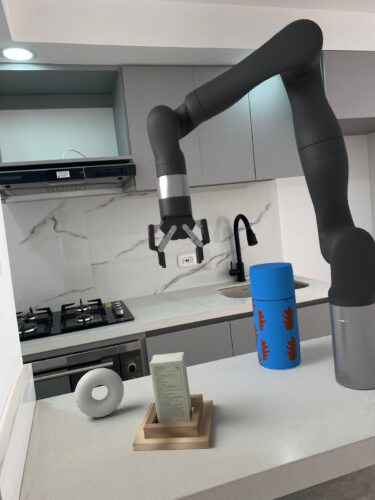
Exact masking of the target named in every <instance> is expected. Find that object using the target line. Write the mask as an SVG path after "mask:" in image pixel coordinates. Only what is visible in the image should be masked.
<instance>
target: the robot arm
mask: <svg viewBox="0 0 375 500" xmlns="http://www.w3.org/2000/svg"><path fill="white" fill-rule="evenodd" d="M323 47H324V33H323V30H322V28H321V26H320V25H319V24H318V23H317V22H315V21H314V20H311V19H308V18H300V19H296V20H293V21H291V22H289V23H288V24H286V26H284V27H283V28H282V29H280V30H279V31H277V33H276V32H275V34H274V35H272V37H270V38H269V39H268V40H267V41H265V42H264V43H263V44H262V45H260V46H259V47H258V48H257V49H255V50H254V51H252V52H251V53H250V54H249V55H247V56H246V57H245V58H243V59H241V61H239V62H237V63H236V64H234V65H233V66H231V67H230V68H229V69H227V70H225V71H224V72H222V73H221V74H218V75H217V76H215V77H214V78H212V79H210V80H209V81H207V82H206V83H203V84H201V85H200V86H197V87H196V88H195V89H193V90H191V91H190V92H188V93H187V94H186V96H185V97H184V102H183V103H182V104H180V105H179V106H177V107H176V108H175V109H173V108H171V107H170V106H169V105H166V104H158V105H155V106H154V107H152V108H151V109H150V110H149V112H148V115H147V118H146V131H147V136H148V140H149V143H150V148H151V151H152V154H153V156H154V157H153V158H154V165H155V173H156V190H157V191H156V193H157V194H156V195H157V199H158V211H159V217H160V223H159V224H153V223H150V224H148V225H147V237H148V249H149V251H154V252H156V253H157V259H158V265H159V266H160V267H161V268H162V269H166V268H167V262H166V253H165V251H164V250H165V249H166V247H167V245H168V244H169V242H170V241H178V240H188V239H189V240H190V241H191V242H192V243H193V244H194V246H195V257H196V263H197V264H199V265H200V264H202V263H203V262H204V261H205V256H204V246H206V245H208V244H210V243H211V238H210V232H209V227H208V221H207V219H206V218H200V219H196V220H195V219H194V216H193V207H192V199H191V190H190V189H191V188H190V182H189V179H188V173H187V164H186V158H185V154H184V152H183V150H182V149H181V147H180V140H181V139H182V140H183V138H185V137H187V136H188V135H189V134H191V133H192V132H193V131H194V130H196V129H197V128H198V127H199V126H200V125H201V124H204V123H205V122H207V121H209V120H211V119H213V118H214V117H216V116H218V115H220V114H221V113H223V112H225V111H227V110H228V109H230V108H232V107H233V106H235V104H237V103H238V102H239V101H241V100H242V99H243V98H244V97H245V96H247V95H248V94H249V93H250V92H251V91H252V90H253V89H255V88H257V87H258V86H259V85H261V84H262V83H264V82H266V81H268V80H269V79H272V78H273V77H276V76H278V75H279V76H280V78H281V81H282V85H283V87H284V89H285V93H286V95H287V98H288V101H289V104H290V109H291V115H292V125H293V133H294V138H295V139H294V140H295V142H296V149H297V153H298V157H299V160H300V165H301V169H302V172H303V175H304V180H305V184H306V186H307V187H306V188H307V191H308V194H309V197H310V200H311V202H312V206H313V210H314V214H315V220H316V228H317V234H318V235H317V236H318V245H319V250H320V254H321V256H322V258H323V260H324V261H325V263H327V264H328V265H329V266H330V267H329V268H330V279H331V280H330V287H329V289H328V290H327V298H328V299H327V300H328V311H329V320H330V321H329V322H330V323H329V324H330V332H331V333H330V334H331V344H332V356H333V366H334V367H333V369H334V378H335V381H336V382H337V383H338V384H339V385H342V386H343V387H346V388H350V389H355V390H372V389H375V239H374V237H373V235H372V234H371V233H370V232H369V231H367V230H366V229H365V228H362V227H358V226H356V225H355V223H354V219H353V216H352V212H351V209H350V205H349V196H348V195H349V194H348V193H349V178H350V177H349V176H350V175H349V173H350V165H349V156H348V152H347V151H348V150H347V148H346V147H347V146H346V142H345V139H344V135H343V130H342V128H341V125H340V123H339V121H338V119H337V116H336V114H335V112H334V111H333V108H332V107H331V105H330V102H329V100H328V98H327V95H326V92H325V88H324V81H323V77H322V76H323V75H322V70H321V69H322V68H321V54H322V52H323V51H322V50H323ZM196 226H197V228H198V229H199V230H200V234H201V239H200V238H199V237H198V236H197V234H195V233H194V231H193V230H194V229H195V227H196ZM159 230H160V231H161V232H162V233H163V234H164V235H163V237H162V238H161V240H160V242H159V244H158V245H156V236H155V235H156V234H157V233H158V231H159Z"/></svg>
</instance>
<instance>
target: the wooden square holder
mask: <svg viewBox="0 0 375 500" xmlns="http://www.w3.org/2000/svg"><path fill="white" fill-rule="evenodd" d="M190 399H191V406H192V418H191V422H184V423H158V418H157V411H156V404H155V401H154V402H151V403H150V405H149V407H148V408H147V411H146V413H145V416H144V418H143V420H142V422H141V424H140V426H139V428H138V431H137V433H136V436H135V437H134V440H133V442H132V451H159V450H161V451H164V450H165V451H166V450H191V449H192V450H194V449H197V450H198V449H210V443H211V442H210V440H211V433H212V431H211V430H212V422H213V421H212V420H213V412H214V401H213V399H209V400H208V399H205V400H204V396H203V393H198V394H197V393H196V394H195V393H194V394H190Z"/></svg>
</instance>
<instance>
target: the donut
mask: <svg viewBox="0 0 375 500" xmlns="http://www.w3.org/2000/svg"><path fill="white" fill-rule="evenodd" d="M98 386H104V387H106V389H107V394H106V396H105V397H103V398H101V399H96V398H94V396H93V395H92V392H93V390H94V389H95V388H96V387H98ZM124 390H125V386H124V382H123V379H122V378H121V376H120V375H119V374H118V372H116V371H114V370H112V369H109V368H105V367H99V368H97V367H96V368H94V369H92V370H89V371H88V372H86V373H84V375H83V376H82V377H81V378H80V379H79V380H78V382H77V384H76V387H75V390H74V400H75V404H76V407H77V408H78V410H80V412H81V413H82V414H84V415H86V416H87V417H91V418H103V417H105V416H107V415H111V414H112V413H113V412H114V411H115V410H117V408H118V407H119V406H120V404H121V403H122V400H123V398H124V395H125V391H124Z"/></svg>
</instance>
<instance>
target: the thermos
mask: <svg viewBox="0 0 375 500" xmlns="http://www.w3.org/2000/svg"><path fill="white" fill-rule="evenodd" d="M248 269H249V270H248V276H249V286H250V295H251V304H252V314H253V324H254V326H253V327H254V333H255V345H256V351H257V358H258V363H259V365H260V366H261V367H263V368H265V369H268V370H275V371H276V370H277V371H280V370H283V371H284V370H285V371H286V370H291V369H294V368H296V366H297V367H298V366H300V364H301V363H302V362H301V361H302V360H301V357H302V356H301V355H302V353H301V340H300V332H299V331H300V329H299V321H298V320H299V319H298V310H297V295H296V287H295V275H294V268H293V265H292V262H285V261H284V262H281V261H280V262H279V261H278V262H266V263H258V264H254V265H251V266H249V267H248ZM300 362H301V363H300ZM290 368H291V369H290Z"/></svg>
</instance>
